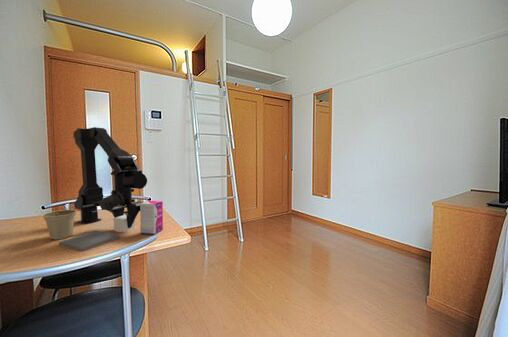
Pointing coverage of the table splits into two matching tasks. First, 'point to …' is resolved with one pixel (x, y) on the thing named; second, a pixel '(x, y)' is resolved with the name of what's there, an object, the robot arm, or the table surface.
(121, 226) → the off-white cube
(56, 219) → the flower pot
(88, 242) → the gray mat
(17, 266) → the table surface
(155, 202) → the supplement box
